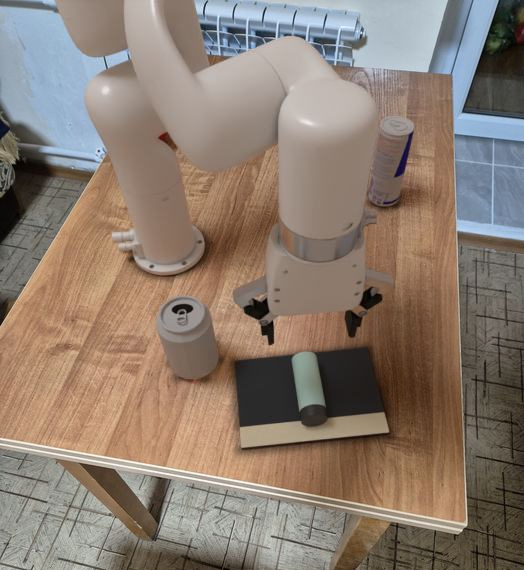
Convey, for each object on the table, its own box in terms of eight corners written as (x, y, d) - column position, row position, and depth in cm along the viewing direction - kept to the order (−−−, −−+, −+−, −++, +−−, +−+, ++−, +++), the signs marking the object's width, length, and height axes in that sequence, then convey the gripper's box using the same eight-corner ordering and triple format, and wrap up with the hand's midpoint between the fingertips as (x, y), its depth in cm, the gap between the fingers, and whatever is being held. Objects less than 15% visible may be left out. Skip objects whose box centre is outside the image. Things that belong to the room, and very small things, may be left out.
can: (220, 339, 79) (210, 288, 69) (219, 381, 75) (208, 333, 65) (171, 341, 79) (155, 291, 69) (168, 383, 75) (150, 336, 65)
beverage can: (397, 209, 94) (414, 135, 81) (366, 206, 94) (378, 133, 82) (399, 190, 97) (415, 115, 84) (369, 187, 97) (381, 113, 85)
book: (241, 449, 69) (241, 447, 68) (234, 362, 77) (234, 360, 76) (388, 434, 69) (389, 432, 69) (367, 349, 77) (367, 346, 76)
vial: (290, 366, 75) (292, 352, 72) (315, 364, 75) (317, 350, 72) (299, 427, 69) (302, 415, 66) (326, 425, 70) (329, 413, 67)
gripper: (402, 190, 49) (374, 301, 64) (223, 205, 49) (236, 313, 63) (422, 247, 45) (387, 351, 60) (227, 263, 45) (240, 364, 59)
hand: (309, 331), depth 61 cm, fingers open, 9 cm apart
